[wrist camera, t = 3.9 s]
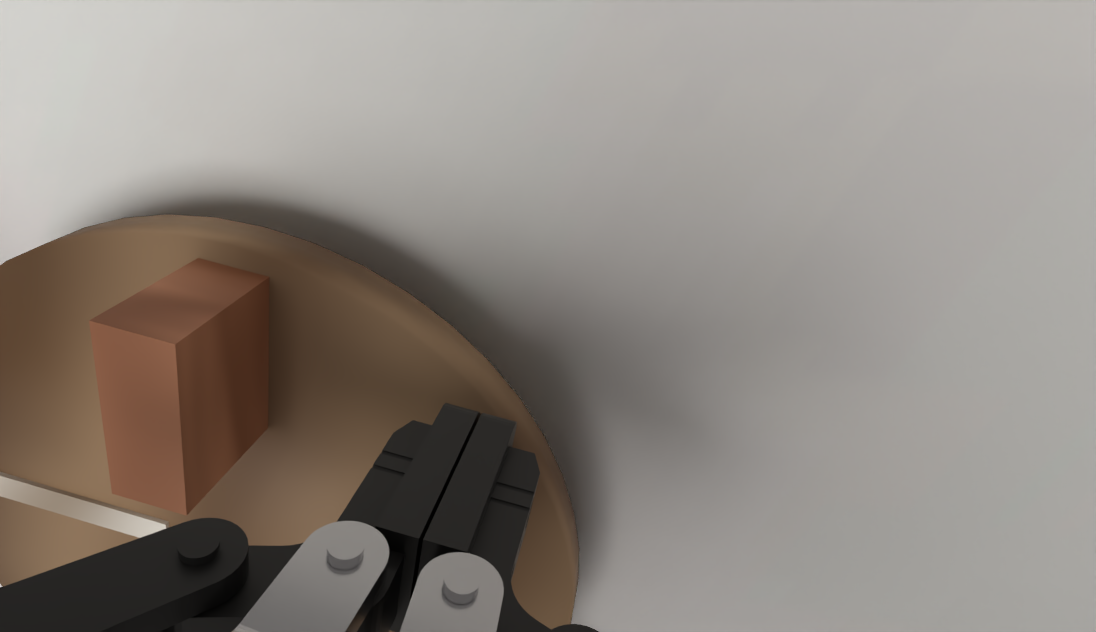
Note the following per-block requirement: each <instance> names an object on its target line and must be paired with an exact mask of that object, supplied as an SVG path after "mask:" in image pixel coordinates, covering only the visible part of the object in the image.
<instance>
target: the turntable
mask: <svg viewBox="0 0 1096 632" xmlns="http://www.w3.org/2000/svg"><path fill="white" fill-rule="evenodd" d="M445 403H449V404H452V405H456V406H460V407H463V408H467V409H471V410H474V411H478V412H480V416H481V414H482V413H486V414H490V415H493V416H497V417H501V418H504V419H508V420H512V421H515V422H517V426H516V431H515V436H514V441H513V445H512V447H514V448H517V449H521V450H524V451H528V452H532V453H535V456H536V460H537V463H538V467H539V471H540V475H539V480H538V484H537V488H536V492H535V496H534V500H533V504H532V508H531V512H530V516H529V520H528V524H527V528H526V531H525V535H524V538H523V542H522V545H521V549H520V552H519V556H518V559H517V563H516V566H515V570H514V573H513V577H512V580H511V585H512V590H513V592H514V595H515V597H516V599H517V601H518V603H519V604H520V605H521V606H522V608H523V609H524V610H525V611H526V612H527V613H528V614H529V615H530V616H532V617H533V618H535V619H536V620H537V621H539V622H540V623H542V624H544V625H545V626H547V627H548V628H550V629H553V628H556V627H558V626H562V625H567V624H571V619H572V613H573V608H574V602H575V596H576V591H577V585H578V570H579V544H578V537H577V530H576V523H575V516H574V511H573V508H572V504H571V501H570V498H569V494H568V491H567V488H566V485H565V481H564V478H563V475H562V473H561V471H560V469H559V467H558V464H557V462H556V460H555V458H554V456H553V454H552V452H551V450H550V447H549V445H548V443H547V441H546V439H545V437H544V435H543V434H542V432H541V431H540V429H539V427H538V426H537V424H536V423H535V421H534V420H533V418H532V417H531V415H530V413H529V412H528V410H527V409H526V407H525V406H524V404H523V403H522V401H521V399H520V398H519V397H518V396H517V394H516V393H515V392H514V391H513V390H512V388H511V387H510V386H509V385H508V384H507V382H506V381H505V380H504V379H503V378H502V376H501V375H500V374H499V373H498V372H497V370H496V369H495V368H494V367H493V366H492V364H491V363H490V362H489V361H488V360H487V359H486V358H485V357H484V356H483V355H482V354H481V353H480V352H479V351H478V350H477V349H476V348H475V347H474V346H472V345H471V344H470V343H469V342H468V341H467V340H466V339H465V338H464V337H463V336H462V335H461V334H460V333H459V332H458V331H457V330H456V329H455V328H454V327H453V326H452V325H450V324H449V323H448V322H446V321H445V320H444V319H442V318H441V317H440V316H438V315H437V314H436V313H434V312H433V311H432V310H431V309H429V308H428V307H427V306H425V305H424V304H423V303H421V302H420V301H419V300H417V299H416V298H415V297H413V296H412V295H411V294H409V293H408V292H406V291H405V290H403V289H401V288H400V287H398V286H396V285H395V284H393V283H391V282H390V281H388V280H386V279H385V278H383V277H381V276H380V275H378V274H376V273H375V272H373V271H371V270H370V269H368V268H366V267H365V266H363V265H361V264H358V263H356V262H354V261H352V260H350V259H348V258H345V257H343V256H341V255H339V254H337V253H334V252H332V251H330V250H328V249H326V248H324V247H321V246H319V245H317V244H315V243H312V242H309V241H306V240H303V239H300V238H297V237H294V236H291V235H287V234H284V233H281V232H278V231H275V230H272V229H269V228H266V227H262V226H257V225H252V224H247V223H242V222H236V221H231V220H226V219H221V218H216V217H202V216H186V215H170V214H166V215H154V216H141V217H129V218H122V219H118V220H113V221H109V222H105V223H101V224H97V225H93V226H89V227H85V228H82V229H80V230H78V231H75V232H73V233H70V234H68V235H65V236H63V237H61V238H58V239H56V240H53V241H51V242H49V243H46V244H44V245H41V246H39V247H37V248H35V249H32V250H30V251H28V252H26V253H23V254H21V255H19V256H17V257H14V258H12V259H10V260H8V261H6V262H4V263H3V264H2V265H0V584H1V585H2V586H3V587H4V586H6V585H9V584H12V583H15V582H18V581H20V580H23V579H26V578H29V577H32V576H34V575H37V574H40V573H43V572H46V571H48V570H51V569H54V568H57V567H60V566H62V565H65V564H68V563H71V562H74V561H76V560H79V559H82V558H85V557H88V556H91V555H93V554H96V553H99V552H102V551H105V550H107V549H110V548H113V547H116V546H119V545H121V544H124V543H127V542H130V541H133V540H135V539H138V538H141V537H144V536H147V535H149V534H152V533H155V532H158V531H161V530H163V529H166V528H169V527H172V526H175V525H177V524H180V523H183V522H186V521H190V520H193V519H199V518H220V519H225V520H228V521H231V522H233V523H234V524H236V525H238V526H239V527H240V528H241V529H242V530H243V531H244V532H245V534H246V536H247V538H248V545H257V546H285V545H295V544H300V543H304V542H305V540H306V539H307V538H308V537H309V536H310V535H311V534H312V533H313V532H314V531H316V530H317V529H319V528H321V527H323V526H325V525H327V524H330V523H334V522H337V520H338V519H339V517H340V516H341V514H342V513H343V511H344V509H345V508H346V506H347V505H348V503H349V502H350V500H351V498H352V497H353V495H354V494H355V492H356V491H357V489H358V487H359V486H360V484H361V483H362V481H363V480H364V478H365V476H366V475H367V473H368V472H369V470H370V469H371V468H372V467H373V464H374V462H375V461H376V459H377V458H378V456H379V454H380V453H382V450H383V448H384V447H385V445H386V443H387V442H388V440H389V439H390V437H391V436H392V434H393V432H395V431H397V430H398V429H400V428H401V427H403V426H404V425H406V424H408V423H409V422H411V421H412V420H415V421H418V422H422V423H426V424H429V425H432V424H433V423H434V421H435V419H436V417H437V415H438V414H439V412H440V410H441V408H442V407H443V405H444V404H445ZM389 632H394V631H389Z"/></svg>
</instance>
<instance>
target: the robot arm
mask: <svg viewBox="0 0 1096 632" xmlns="http://www.w3.org/2000/svg"><path fill="white" fill-rule="evenodd" d="M516 426H517V422H515V421H512V420H508V419H504V418H501V417H497V416H493V415H490V414H486V413H482V414H481V416H480V412H478V411H474V410H471V409H467V408H463V407H460V406H456V405H452V404H449V403H445V404H444V405H443V407H442V408H441V410H440V412H439V414H438V415H437V417H436V419H435V421H434V423H433V424H432V425H429V424H426V423H422V422H418V421H415V420H412V421H411V422H409V423H408V424H406V425H404V426H403V427H401V428H400V429H398V430H397V431H395V432H393V434H392V436H391V437H390V439H389V440H388V442H387V443H386V445H385V447H384V448H383V450H382V453H380V454H379V456H378V458H377V459H376V461H375V462H374V464H373V467H372V468H371V469H370V470H369V472H368V473H367V475H366V476H365V478H364V480H363V481H362V483H361V484H360V486H359V487H358V489H357V491H356V492H355V494H354V495H353V497H352V498H351V500H350V502H349V503H348V505H347V506H346V508H345V509H344V511H343V513H342V514H341V516H340V517H339V519H338V520H337V522H334V523H330V524H327V525H325V526H323V527H321V528H319V529H317V530H316V531H314V532H313V533H312V534H311V535H310V536H309V537H308V538H307V539H306V540H305V542H304V543H300V544H295V545H285V546H257V545H248V538H247V536H246V534H245V532H244V531H243V530H242V529H241V528H240V527H239V526H238V525H236V524H234V523H233V522H231V521H228V520H225V519H220V518H199V519H193V520H190V521H186V522H183V523H180V524H177V525H175V526H172V527H169V528H166V529H163V530H161V531H158V532H155V533H152V534H149V535H147V536H144V537H141V538H138V539H135V540H133V541H130V542H127V543H124V544H121V545H119V546H116V547H113V548H110V549H107V550H105V551H102V552H99V553H96V554H93V555H91V556H88V557H85V558H82V559H79V560H76V561H74V562H71V563H68V564H65V565H62V566H60V567H57V568H54V569H51V570H48V571H46V572H43V573H40V574H37V575H34V576H32V577H29V578H26V579H23V580H20V581H18V582H15V583H12V584H9V585H6V586H4V587H1V588H0V632H389V631H394V632H598V631H597V630H595V629H592V628H590V627H587V626H583V625H577V624H567V625H562V626H558V627H556V628H553V629H550V628H548V627H547V626H545V625H544V624H542V623H540V622H539V621H537V620H536V619H535V618H533V617H532V616H530V615H529V614H528V613H527V612H526V611H525V610H524V609H523V608H522V606H521V605H520V604H519V603H518V601H517V599H516V597H515V595H514V592H513V590H512V585H511V580H512V577H513V573H514V570H515V566H516V563H517V559H518V556H519V552H520V549H521V545H522V542H523V538H524V535H525V531H526V528H527V524H528V520H529V516H530V512H531V508H532V504H533V500H534V496H535V492H536V488H537V484H538V480H539V475H540V471H539V467H538V463H537V460H536V456H535V453H532V452H528V451H524V450H521V449H517V448H514V447H512V445H513V441H514V436H515V431H516Z"/></svg>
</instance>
